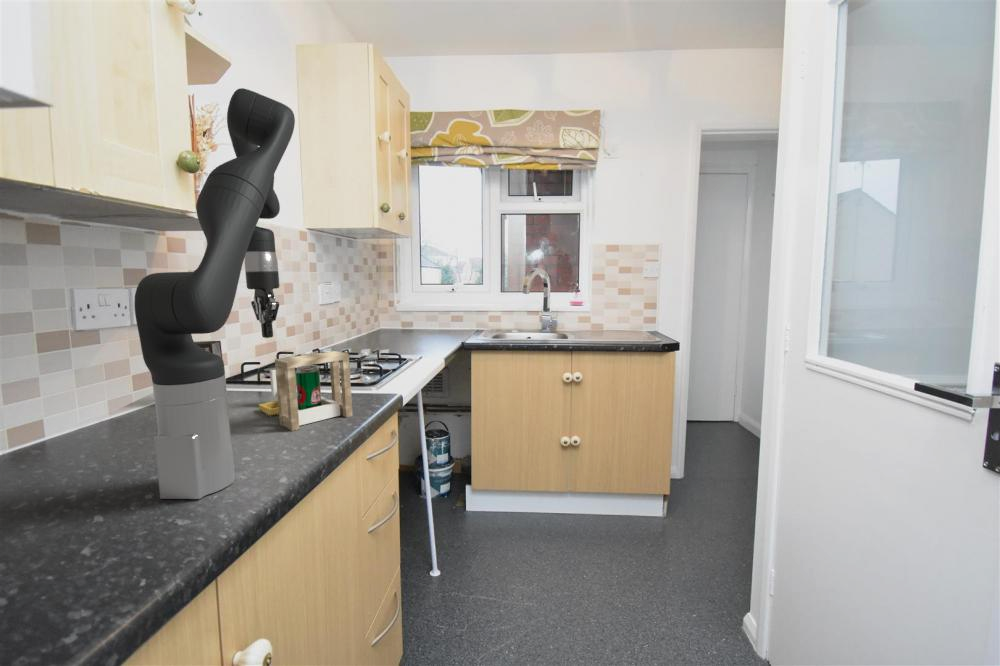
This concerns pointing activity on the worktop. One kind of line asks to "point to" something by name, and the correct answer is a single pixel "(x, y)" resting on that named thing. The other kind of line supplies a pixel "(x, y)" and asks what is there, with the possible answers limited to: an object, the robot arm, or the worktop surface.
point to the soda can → (308, 387)
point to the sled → (311, 414)
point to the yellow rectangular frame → (269, 408)
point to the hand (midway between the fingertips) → (267, 337)
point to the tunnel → (288, 384)
